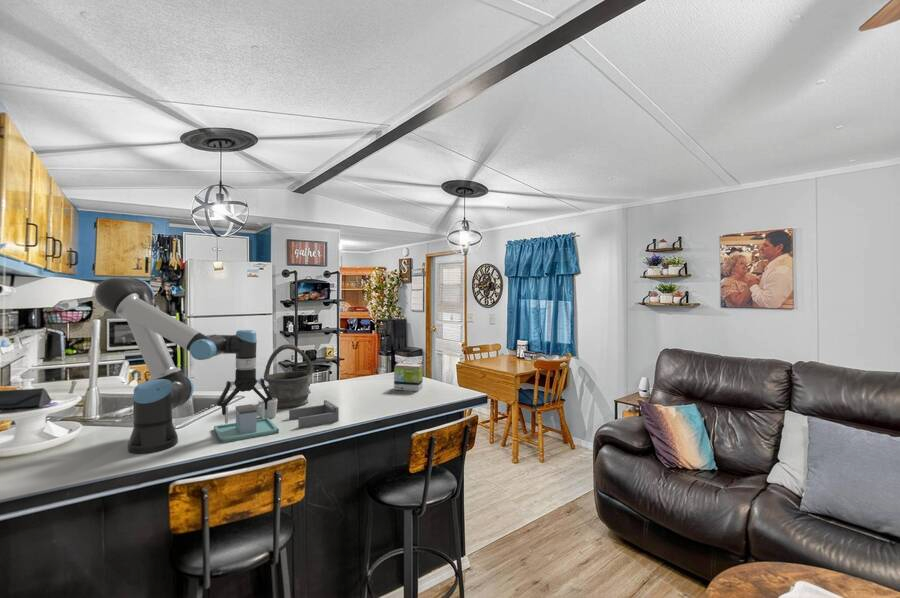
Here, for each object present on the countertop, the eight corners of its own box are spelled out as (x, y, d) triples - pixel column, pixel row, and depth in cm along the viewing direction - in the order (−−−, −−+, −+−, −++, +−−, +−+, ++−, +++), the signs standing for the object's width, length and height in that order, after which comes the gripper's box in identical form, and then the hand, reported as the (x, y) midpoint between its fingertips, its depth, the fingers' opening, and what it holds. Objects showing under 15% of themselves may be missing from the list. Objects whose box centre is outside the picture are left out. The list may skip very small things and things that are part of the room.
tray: (220, 443, 160) (220, 439, 160) (214, 429, 175) (214, 426, 175) (278, 432, 172) (278, 429, 172) (268, 421, 187) (268, 417, 187)
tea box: (393, 390, 247) (393, 365, 246) (398, 386, 256) (398, 362, 256) (418, 391, 244) (419, 365, 244) (422, 387, 254) (423, 363, 254)
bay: (299, 428, 178) (299, 413, 178) (289, 418, 191) (289, 405, 191) (338, 421, 188) (338, 407, 188) (326, 412, 201) (326, 400, 200)
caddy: (239, 434, 167) (239, 412, 167) (235, 427, 176) (235, 406, 176) (256, 431, 171) (256, 409, 171) (251, 425, 179) (251, 404, 179)
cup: (266, 422, 185) (266, 404, 185) (250, 421, 187) (250, 403, 187) (281, 415, 196) (281, 398, 196) (265, 414, 197) (265, 397, 197)
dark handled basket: (273, 398, 227) (273, 342, 227) (317, 398, 228) (317, 342, 228) (256, 409, 205) (256, 347, 205) (305, 409, 206) (305, 347, 205)
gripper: (212, 372, 163) (211, 427, 163) (280, 367, 177) (279, 417, 177) (209, 369, 169) (208, 422, 169) (275, 364, 183) (275, 413, 184)
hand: (244, 420), depth 173 cm, fingers open, 13 cm apart
